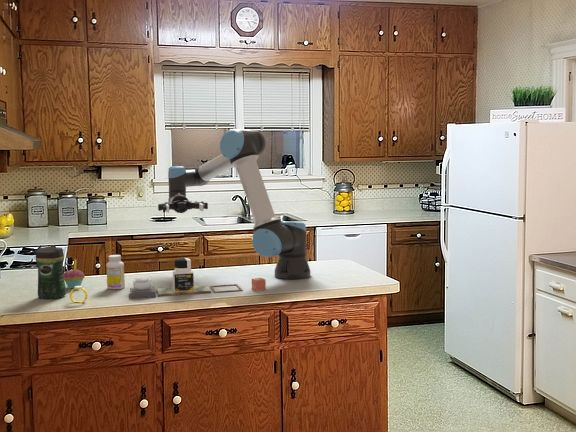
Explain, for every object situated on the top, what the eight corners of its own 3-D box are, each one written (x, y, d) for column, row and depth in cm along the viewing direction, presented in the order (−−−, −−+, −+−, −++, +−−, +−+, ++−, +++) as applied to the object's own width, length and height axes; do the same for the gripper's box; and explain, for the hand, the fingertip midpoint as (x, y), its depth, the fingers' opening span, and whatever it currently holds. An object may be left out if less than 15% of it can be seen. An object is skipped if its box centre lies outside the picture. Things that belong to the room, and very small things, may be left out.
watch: (88, 302, 238) (88, 286, 237) (85, 304, 235) (86, 287, 235) (71, 301, 238) (72, 285, 238) (68, 303, 236) (69, 286, 235)
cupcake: (89, 286, 262) (88, 256, 261) (72, 290, 255) (71, 260, 254) (74, 284, 267) (73, 254, 265) (57, 288, 260) (56, 258, 258)
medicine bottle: (174, 292, 248) (173, 260, 246) (173, 288, 255) (172, 257, 253) (194, 291, 250) (193, 259, 248) (191, 287, 256) (191, 256, 255)
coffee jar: (69, 294, 249) (67, 245, 247) (59, 299, 241) (57, 249, 239) (44, 294, 250) (42, 245, 248) (34, 299, 242) (31, 248, 240)
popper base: (154, 291, 253) (154, 285, 253) (155, 296, 244) (155, 290, 244) (130, 293, 251) (129, 287, 250) (130, 298, 242) (130, 292, 242)
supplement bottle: (115, 285, 264) (114, 253, 262) (128, 287, 261) (127, 254, 259) (103, 289, 258) (102, 256, 256) (116, 290, 255) (115, 257, 253)
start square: (237, 285, 263) (237, 284, 263) (242, 290, 253) (242, 289, 253) (210, 286, 260) (210, 285, 260) (214, 292, 250) (214, 291, 250)
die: (261, 287, 258) (260, 277, 258) (265, 289, 255) (265, 279, 254) (251, 288, 256) (251, 278, 256) (256, 290, 253) (256, 280, 252)
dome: (151, 285, 251) (150, 276, 251) (152, 289, 245) (151, 280, 244) (133, 286, 249) (132, 277, 249) (133, 290, 243) (133, 281, 243)
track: (207, 287, 260) (207, 285, 259) (211, 292, 250) (211, 290, 250) (156, 290, 254) (156, 288, 254) (158, 296, 245) (158, 294, 245)
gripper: (150, 195, 282) (153, 200, 262) (208, 194, 289) (216, 198, 268) (150, 213, 283) (153, 219, 263) (208, 211, 290) (216, 216, 269)
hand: (185, 208), depth 266 cm, fingers open, 13 cm apart
